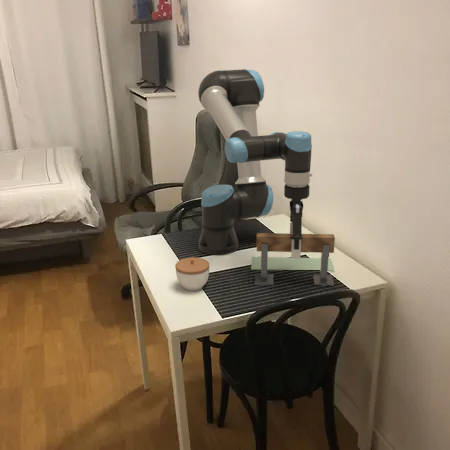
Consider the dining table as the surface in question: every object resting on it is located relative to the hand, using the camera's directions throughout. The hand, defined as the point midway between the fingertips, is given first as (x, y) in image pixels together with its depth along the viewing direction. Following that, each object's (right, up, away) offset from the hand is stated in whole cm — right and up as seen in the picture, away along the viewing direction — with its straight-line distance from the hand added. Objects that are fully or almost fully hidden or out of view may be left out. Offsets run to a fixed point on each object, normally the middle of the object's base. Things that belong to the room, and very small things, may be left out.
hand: (294, 249), depth 156 cm
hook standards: (0, -10, +4) cm, 11 cm away
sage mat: (+1, -6, +16) cm, 17 cm away
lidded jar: (-32, -12, +2) cm, 34 cm away
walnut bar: (0, 0, 0) cm, 0 cm away
